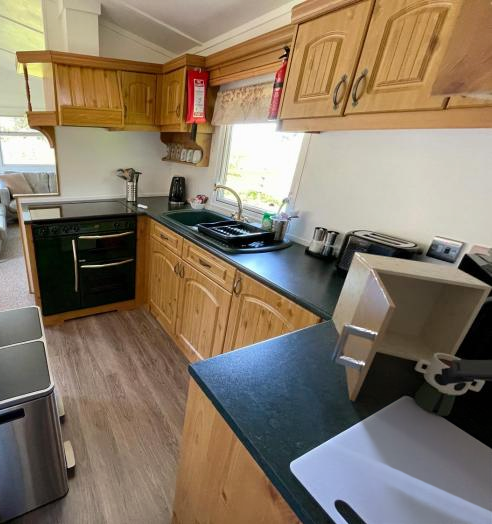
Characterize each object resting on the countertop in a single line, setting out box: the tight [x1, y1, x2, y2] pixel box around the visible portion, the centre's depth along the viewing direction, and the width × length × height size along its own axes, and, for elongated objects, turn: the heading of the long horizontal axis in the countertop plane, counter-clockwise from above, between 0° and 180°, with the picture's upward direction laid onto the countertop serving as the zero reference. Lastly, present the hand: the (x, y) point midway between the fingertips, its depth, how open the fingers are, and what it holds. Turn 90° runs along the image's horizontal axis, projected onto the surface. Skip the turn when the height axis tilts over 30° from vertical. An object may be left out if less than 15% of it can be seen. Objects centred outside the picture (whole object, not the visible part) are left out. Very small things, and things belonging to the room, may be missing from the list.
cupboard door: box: [330, 269, 396, 402], centre depth 76 cm, size 7×26×26 cm, turn 150°
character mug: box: [414, 353, 486, 417], centre depth 66 cm, size 11×7×13 cm, turn 55°
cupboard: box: [331, 251, 492, 362], centre depth 89 cm, size 16×26×26 cm, turn 70°
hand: (488, 387), depth 55 cm, fingers open, 13 cm apart
